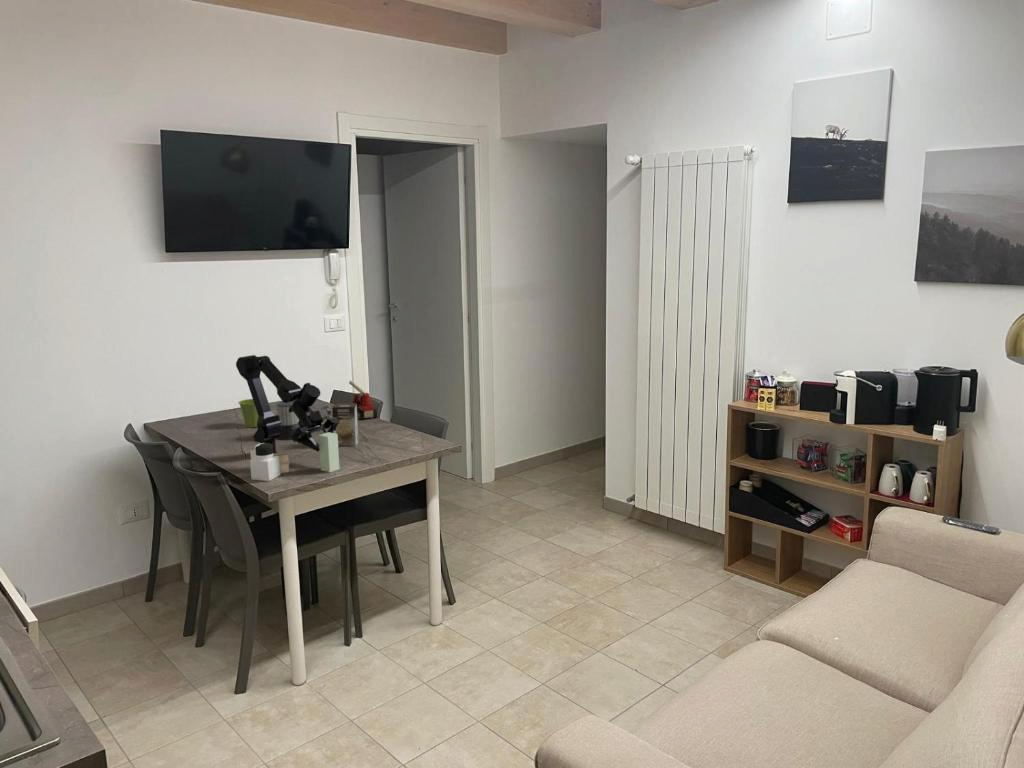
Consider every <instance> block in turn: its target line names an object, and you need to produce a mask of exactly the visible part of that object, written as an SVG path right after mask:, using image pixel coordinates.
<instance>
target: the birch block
mask: <svg viewBox="0 0 1024 768" xmlns="http://www.w3.org/2000/svg"><path fill="white" fill-rule="evenodd" d="M273 456H279V462H280V474H284V473H288V472H290V463H289V455H288V454H287V453H286V452H284V451H283V452H277V453H276V454H274V455H273Z"/></svg>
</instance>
